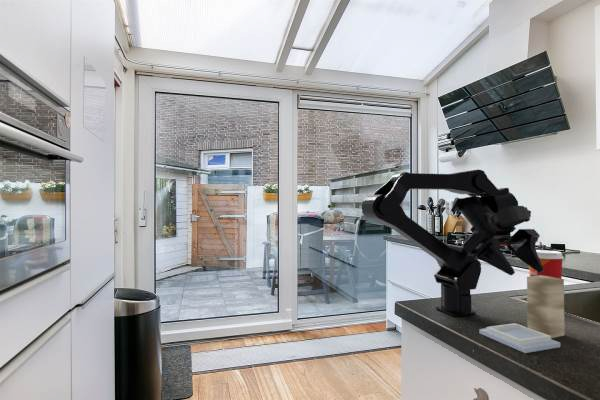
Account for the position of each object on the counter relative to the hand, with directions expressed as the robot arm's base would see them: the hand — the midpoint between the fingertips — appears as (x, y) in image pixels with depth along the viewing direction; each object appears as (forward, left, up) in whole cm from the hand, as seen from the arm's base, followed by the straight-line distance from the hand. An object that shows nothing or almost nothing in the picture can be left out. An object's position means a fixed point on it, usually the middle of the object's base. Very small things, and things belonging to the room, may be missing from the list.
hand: (527, 272), depth 74 cm
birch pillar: (+4, 0, -11) cm, 12 cm away
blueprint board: (+5, -8, -11) cm, 15 cm away
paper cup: (-9, +17, -12) cm, 23 cm away
